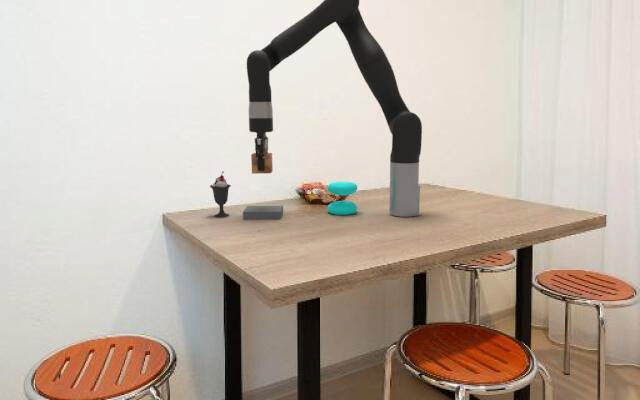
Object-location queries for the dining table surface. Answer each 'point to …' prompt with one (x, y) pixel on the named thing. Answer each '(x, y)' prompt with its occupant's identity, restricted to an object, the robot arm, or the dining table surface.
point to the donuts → (342, 206)
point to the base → (262, 212)
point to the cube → (267, 163)
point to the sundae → (220, 194)
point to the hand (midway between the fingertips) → (262, 169)
